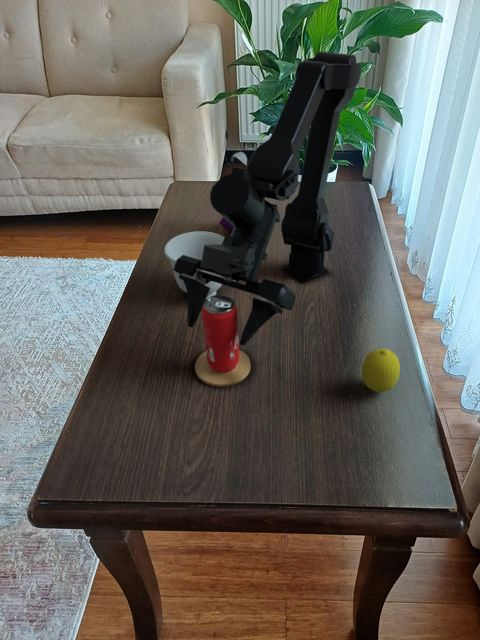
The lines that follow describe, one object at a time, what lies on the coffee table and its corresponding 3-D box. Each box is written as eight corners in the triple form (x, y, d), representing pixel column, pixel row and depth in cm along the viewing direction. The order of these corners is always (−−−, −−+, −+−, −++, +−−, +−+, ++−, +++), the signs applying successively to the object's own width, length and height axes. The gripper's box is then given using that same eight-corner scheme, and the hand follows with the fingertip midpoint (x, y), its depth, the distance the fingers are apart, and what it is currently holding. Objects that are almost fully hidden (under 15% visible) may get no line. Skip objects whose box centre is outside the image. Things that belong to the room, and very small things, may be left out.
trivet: (231, 342, 90) (231, 339, 89) (261, 372, 84) (261, 369, 84) (185, 362, 86) (185, 359, 85) (213, 395, 80) (212, 392, 80)
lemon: (395, 404, 78) (404, 365, 73) (357, 399, 79) (364, 360, 74) (395, 379, 82) (404, 340, 77) (360, 375, 83) (366, 336, 78)
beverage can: (213, 351, 87) (207, 291, 79) (243, 355, 86) (240, 295, 78) (203, 372, 83) (196, 311, 75) (234, 376, 82) (231, 316, 74)
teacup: (251, 305, 98) (250, 259, 91) (171, 314, 96) (164, 267, 89) (243, 271, 107) (241, 227, 100) (169, 278, 105) (163, 233, 98)
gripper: (172, 205, 75) (136, 308, 75) (289, 235, 68) (249, 347, 68) (206, 231, 85) (174, 321, 85) (311, 259, 78) (276, 357, 78)
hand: (215, 335), depth 79 cm, fingers open, 9 cm apart
